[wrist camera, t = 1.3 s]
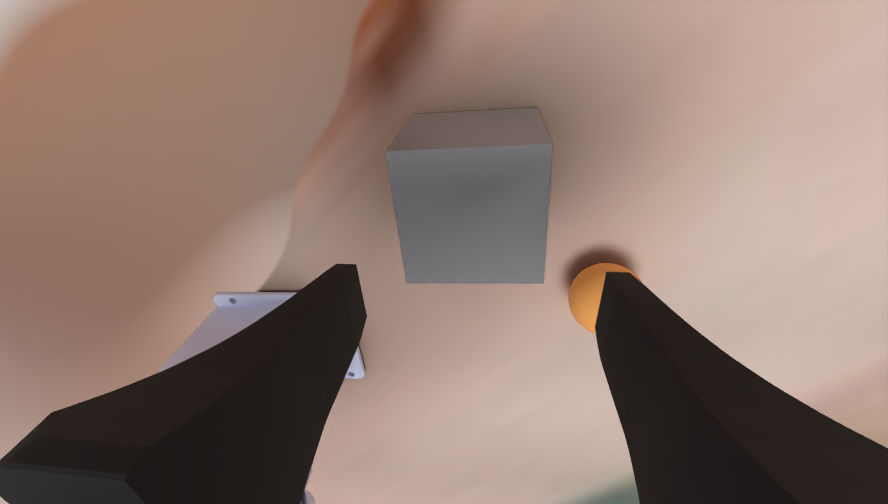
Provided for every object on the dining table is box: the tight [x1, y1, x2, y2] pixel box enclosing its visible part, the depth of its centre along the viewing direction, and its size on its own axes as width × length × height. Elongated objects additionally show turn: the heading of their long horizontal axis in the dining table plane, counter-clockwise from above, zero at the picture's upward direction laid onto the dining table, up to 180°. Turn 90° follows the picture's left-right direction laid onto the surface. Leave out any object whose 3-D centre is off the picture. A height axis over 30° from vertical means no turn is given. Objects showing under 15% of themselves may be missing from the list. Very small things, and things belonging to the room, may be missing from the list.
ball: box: [569, 263, 642, 334], centre depth 22 cm, size 4×4×4 cm
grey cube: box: [385, 107, 553, 283], centre depth 18 cm, size 6×6×6 cm
